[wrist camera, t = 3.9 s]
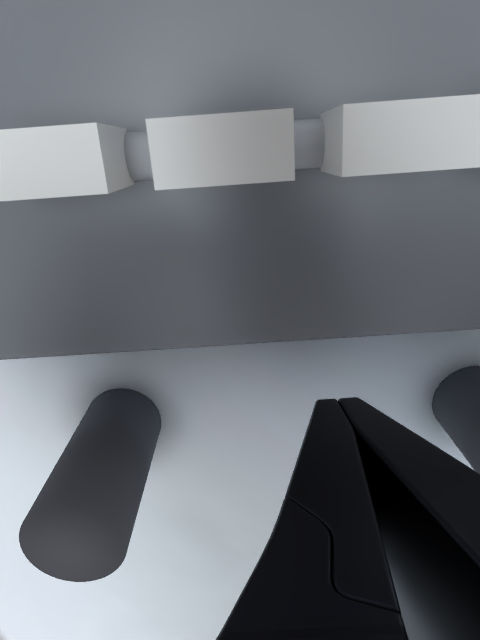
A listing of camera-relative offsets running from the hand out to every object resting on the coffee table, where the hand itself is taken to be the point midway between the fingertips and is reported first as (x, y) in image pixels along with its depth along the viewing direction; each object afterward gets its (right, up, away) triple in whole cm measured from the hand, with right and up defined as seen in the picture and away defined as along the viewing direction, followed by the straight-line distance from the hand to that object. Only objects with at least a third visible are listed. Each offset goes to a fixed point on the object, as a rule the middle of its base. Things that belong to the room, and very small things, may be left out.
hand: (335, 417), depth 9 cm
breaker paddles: (0, +7, +3) cm, 7 cm away
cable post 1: (-7, -2, +9) cm, 11 cm away
